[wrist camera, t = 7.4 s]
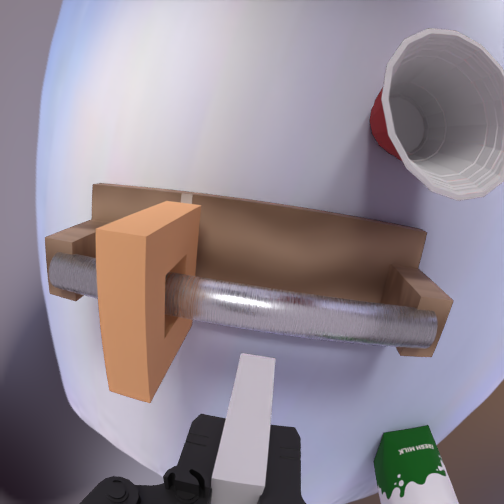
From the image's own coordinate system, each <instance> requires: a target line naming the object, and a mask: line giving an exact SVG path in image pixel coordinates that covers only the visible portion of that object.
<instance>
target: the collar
mask: <svg viewBox="0 0 504 504" xmlns="http://www.w3.org/2000/svg"><path fill="white" fill-rule="evenodd" d="M200 213H201V205H196V204H188V203H180V202H172V201H165V202H162V203H160V204H157V205H154V206H152V207H149V208H146V209H144V210H141V211H139V212H136V213H134V214H131V215H128V216H126V217H123V218H121V219H118V220H116V221H113V222H111V223H109V224H106V225H104V226H101V227H99V228H97V229H96V273H97V291H98V305H99V317H100V327H101V336H102V345H103V352H104V360H105V367H106V373H107V379H108V385H109V391H111V392H114V393H117V394H121V395H124V396H127V397H130V398H134V399H137V400H140V401H144V402H147V403H151V401H152V399H153V397H154V395H155V393H156V391H157V389H158V388H159V386H160V384H161V382H162V380H163V378H164V376H165V374H166V372H167V371H168V369H169V367H170V365H171V363H172V361H173V359H174V358H175V356H176V354H177V352H178V350H179V348H180V346H181V345H182V343H183V341H184V339H185V337H186V335H187V333H188V332H189V330H190V328H191V326H192V320H191V319H186V318H181V317H176V316H171V315H166V314H165V278H166V274H167V273H168V272H174V273H179V274H185V275H191V276H195V272H196V259H197V247H198V235H199V224H200Z"/></svg>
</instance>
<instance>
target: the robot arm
mask: <svg viewBox="0 0 504 504" xmlns="http://www.w3.org/2000/svg"><path fill="white" fill-rule="evenodd" d="M274 371H275V358H270V357H264V356H257V355H251V354H244V353H241V356H240V360H239V364H238V369H237V373H236V377H235V382H234V386H233V390H232V395H231V399H230V403H229V407H228V412H227V416H226V419H225V418H220V417H215V416H210V415H205V414H200V415H199V416H198V417H197V418H196V419H195V420H194V421H193V422H192V424H191V427H190V430H189V433H188V436H187V439H186V442H185V444H184V447H183V450H182V453H181V456H180V459H179V462H178V465H177V466H174V467H172V468H171V469H169V470H167V472H166V473H165V475H164V476H163V479H164V483H163V484H160V485H153V486H147V485H134V484H133V483H132V482H131V481H130V480H128V479H125V478H123V477H114V476H113V477H109V478H106V479H104V480H103V481H101V482H100V483H99V484H98V485H97V486H96V487H95V488H94V489H93V490H92V492H90V493H89V494H88V495H87V496H86V497H85V498H84V500H83V501H82V502H81V503H80V504H306V503H305V502H304V500H303V498H302V496H301V460H300V458H301V451H300V449H301V443H300V436H299V434H298V432H297V431H296V429H295V427H286V426H277V425H270V424H271V412H272V399H273V385H274Z"/></svg>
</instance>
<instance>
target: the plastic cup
mask: <svg viewBox="0 0 504 504" xmlns="http://www.w3.org/2000/svg"><path fill="white" fill-rule="evenodd" d="M370 125H371V130H372V134H373V136H374V138H375V139H376V141H377V142H378V144H379V146H381V147H382V148H383V149H384V150H386V151H387V152H388V153H389V154H391V155H394V156H395V157H396V158H397V159H399V160H401V161H403V163H404V165H405V167H406V168H407V170H409V171H410V172H411V173H412V174H413V175H414V176H415V177H416V178H418V179H419V180H420V181H421V182H422V183H423V184H424V185H425V186H426V187H427V188H428V189H429V190H430V191H432V192H434V193H437V194H440V195H443V196H446V197H449V198H452V199H455V200H458V201H461V200H467V199H473V198H479V197H484V196H485V195H487V194H488V193H489V192H491V191H492V190H493V189H494V188H496V187H497V186H498V185H500V184H501V183H502V182H503V181H504V70H503V68H502V67H501V66H500V65H499V64H498V62H497V61H496V60H495V59H494V58H493V57H492V56H491V54H490V53H489V52H488V51H487V50H486V49H485V48H484V47H483V46H482V45H481V44H479V43H477V42H476V41H474V40H472V39H470V38H469V37H467V36H465V35H463V34H461V33H459V32H457V31H454V30H444V29H432V28H428V29H426V30H423V31H421V32H419V33H417V34H414V35H412V36H410V37H408V38H406V39H404V40H403V41H402V43H401V44H400V46H399V47H398V49H397V50H396V52H395V53H394V55H393V56H392V57H391V59H390V60H389V62H388V63H387V66H386V72H385V79H384V85H383V88H382V89H381V91H380V93H379V95H378V96H377V98H376V100H375V103H374V106H373V107H372V110H371V116H370Z"/></svg>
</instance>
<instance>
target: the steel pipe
mask: <svg viewBox="0 0 504 504" xmlns="http://www.w3.org/2000/svg"><path fill="white" fill-rule="evenodd" d="M49 279H50V282H51V284H52V285H53V286H54V287H56V288H59V289H63V290H66V291H70V292H74V293H77V294H81V295H85V296H89V297H93V298H97V299H98V291H97V273H96V258H93V257H88V256H83V255H78V254H73V255H71V254H66V253H61V252H58V253H56V254H55V255H54V257H53V258H52V260H51V263H50V266H49ZM165 314H166V315H171V316H176V317H181V318H186V319H191V320H196V321H202V322H207V323H213V324H218V325H224V326H230V327H236V328H242V329H248V330H254V331H260V332H267V333H274V334H281V335H288V336H295V337H303V338H311V339H319V340H328V341H337V342H346V343H356V344H367V345H378V346H391V347H405V348H421V349H427V348H429V347H430V346H431V345H432V343H433V342H434V340H435V337H436V333H437V317H436V314H435V312H434V311H428V310H418V309H416V308H414V307H406V306H398V305H389V304H381V303H373V302H365V301H357V300H350V299H342V298H335V297H327V296H320V295H313V294H306V293H299V292H292V291H285V290H278V289H272V288H265V287H259V286H252V285H246V284H240V283H233V282H227V281H221V280H215V279H209V278H203V277H197V276H191V275H185V274H179V273H174V272H168V273H167V274H166V278H165Z"/></svg>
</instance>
